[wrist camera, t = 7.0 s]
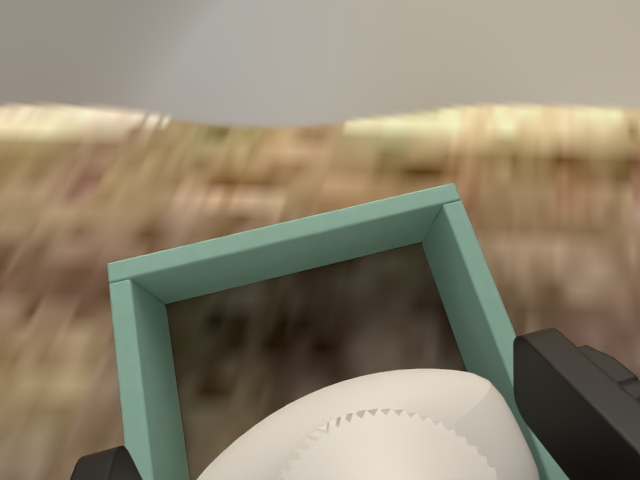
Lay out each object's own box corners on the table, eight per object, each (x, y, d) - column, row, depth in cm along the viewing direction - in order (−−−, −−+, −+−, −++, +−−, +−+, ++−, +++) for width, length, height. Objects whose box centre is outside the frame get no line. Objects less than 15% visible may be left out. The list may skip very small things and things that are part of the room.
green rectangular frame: (597, 675, 12) (687, 758, 9) (211, 807, 11) (171, 947, 8) (430, 223, 17) (454, 181, 14) (146, 292, 16) (105, 262, 13)
